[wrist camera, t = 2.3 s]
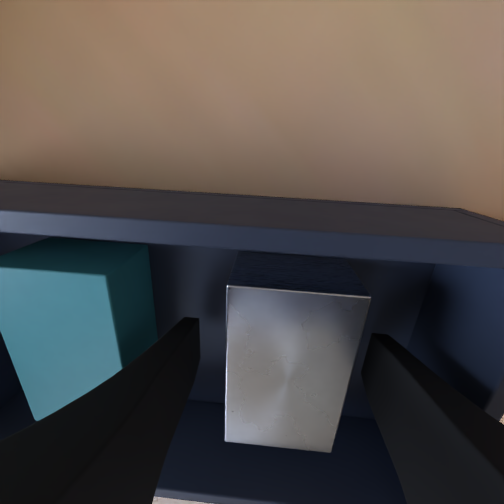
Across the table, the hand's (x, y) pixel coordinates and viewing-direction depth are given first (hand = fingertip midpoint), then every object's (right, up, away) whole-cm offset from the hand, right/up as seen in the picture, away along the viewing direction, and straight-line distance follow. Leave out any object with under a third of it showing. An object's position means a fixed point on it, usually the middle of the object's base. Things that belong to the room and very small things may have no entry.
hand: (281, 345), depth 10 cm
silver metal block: (0, 0, +1) cm, 1 cm away
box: (-4, +1, +2) cm, 4 cm away
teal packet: (-8, +1, +1) cm, 8 cm away
